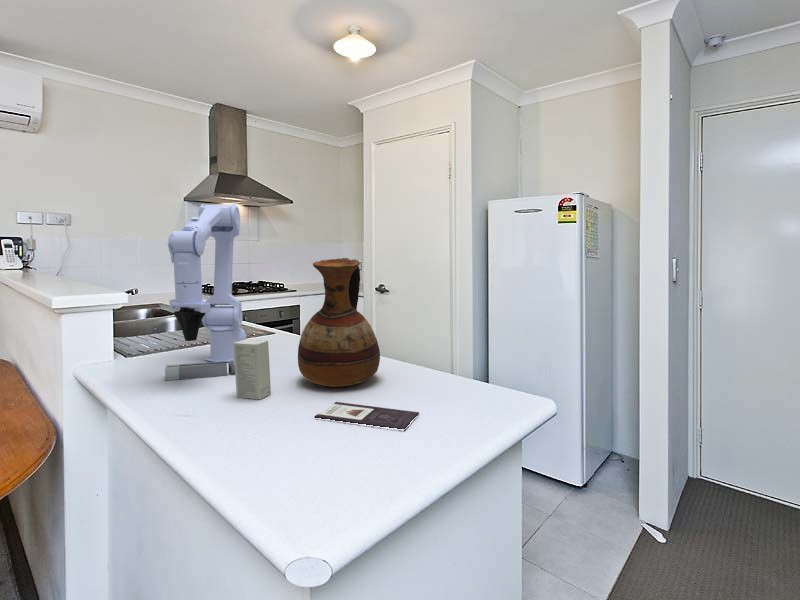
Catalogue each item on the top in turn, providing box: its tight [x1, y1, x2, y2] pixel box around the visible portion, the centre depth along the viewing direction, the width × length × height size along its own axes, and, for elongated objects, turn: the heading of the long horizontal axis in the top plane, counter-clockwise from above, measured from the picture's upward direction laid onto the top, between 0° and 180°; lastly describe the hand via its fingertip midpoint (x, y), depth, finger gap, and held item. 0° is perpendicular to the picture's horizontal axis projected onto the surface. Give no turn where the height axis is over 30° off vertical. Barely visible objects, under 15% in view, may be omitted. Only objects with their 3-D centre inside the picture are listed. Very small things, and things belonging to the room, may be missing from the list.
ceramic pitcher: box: [297, 257, 381, 388], centre depth 112 cm, size 20×20×30 cm
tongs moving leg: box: [164, 362, 228, 382], centre depth 116 cm, size 14×2×3 cm, turn 111°
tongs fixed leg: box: [165, 360, 235, 376], centre depth 117 cm, size 18×3×3 cm, turn 110°
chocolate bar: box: [313, 401, 420, 429], centre depth 90 cm, size 9×1×18 cm
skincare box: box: [233, 338, 272, 400], centre depth 101 cm, size 6×4×12 cm
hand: (190, 340), depth 110 cm, fingers closed
